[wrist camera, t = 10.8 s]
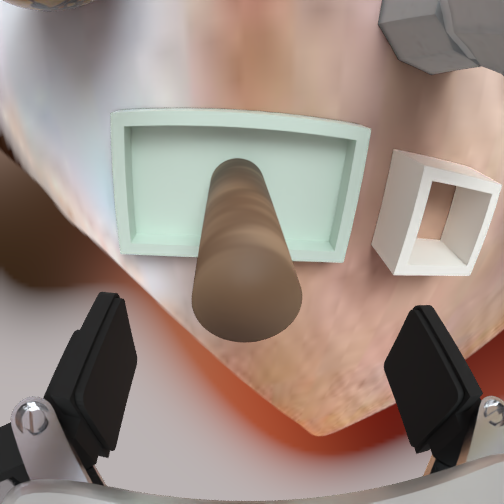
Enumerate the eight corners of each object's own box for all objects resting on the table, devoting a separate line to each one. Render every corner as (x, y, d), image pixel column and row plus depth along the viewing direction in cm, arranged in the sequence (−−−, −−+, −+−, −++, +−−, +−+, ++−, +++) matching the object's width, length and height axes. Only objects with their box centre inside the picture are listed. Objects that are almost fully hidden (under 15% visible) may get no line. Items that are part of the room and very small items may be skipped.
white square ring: (468, 166, 24) (502, 184, 20) (444, 248, 29) (469, 275, 25) (393, 148, 24) (424, 165, 19) (371, 244, 28) (393, 275, 24)
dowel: (266, 159, 23) (311, 257, 11) (261, 210, 25) (292, 342, 13) (211, 157, 23) (190, 253, 10) (209, 207, 24) (193, 340, 12)
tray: (358, 123, 22) (371, 129, 20) (335, 247, 28) (343, 262, 26) (121, 109, 21) (110, 113, 19) (128, 239, 26) (120, 254, 24)
